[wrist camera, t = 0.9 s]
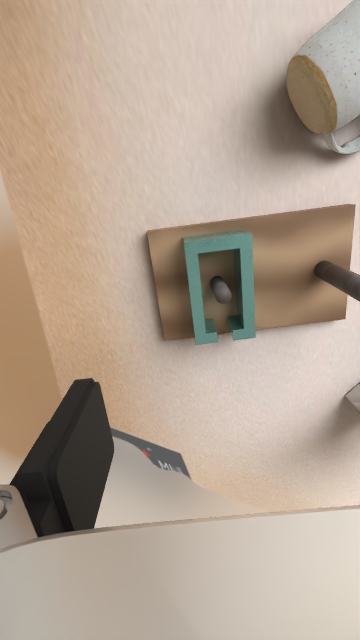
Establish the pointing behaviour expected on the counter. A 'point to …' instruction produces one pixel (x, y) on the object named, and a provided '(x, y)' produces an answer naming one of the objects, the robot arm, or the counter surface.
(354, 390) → the coffee box
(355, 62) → the ceramic mug
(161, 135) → the counter surface
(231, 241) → the c link
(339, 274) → the stand
